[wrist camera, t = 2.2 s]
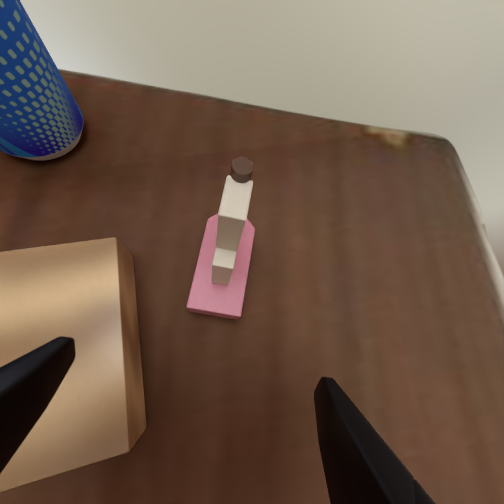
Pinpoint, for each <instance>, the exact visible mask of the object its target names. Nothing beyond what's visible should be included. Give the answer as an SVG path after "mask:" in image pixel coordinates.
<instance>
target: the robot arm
mask: <svg viewBox="0 0 504 504" xmlns="http://www.w3.org/2000/svg"><path fill="white" fill-rule="evenodd" d="M75 356H76V352H75V341H74V339H73V338H72V337H66V336H59V337H57V338H55V339H53V340H51V341H49V342H47V343H45V344H44V345H42V346H40V347H38V348H36V349H34V350H32V351H30V352H28V353H26V354H25V355H23V356H21V357H19V358H17V359H15V360H13V361H11V362H9V363H7V364H5V365H4V366H2V367H0V474H1V472H2V471H3V470H4V468H5V467H6V465H7V464H8V462H9V461H10V460H11V458H12V457H13V455H14V454H15V452H16V451H17V450H18V448H19V447H20V445H21V444H22V443H23V441H24V440H25V438H26V437H27V435H28V434H29V433H30V431H31V430H32V428H33V427H34V426H35V424H36V423H37V421H38V420H39V418H40V417H41V416H42V414H43V413H44V411H45V410H46V408H47V407H48V405H49V403H50V402H51V400H52V398H53V397H54V395H55V393H56V391H57V390H58V388H59V386H60V385H61V383H62V381H63V379H64V378H65V376H66V374H67V372H68V371H69V369H70V367H71V365H72V364H73V362H74V360H75ZM314 401H315V411H316V421H317V432H318V440H319V446H320V452H321V457H322V462H323V467H324V472H325V478H326V483H327V488H328V493H329V498H330V503H331V504H435V503H434V501H433V500H432V499H431V498H430V497H429V495H428V494H427V493H426V492H425V491H424V489H423V488H422V487H421V486H420V484H419V483H418V482H417V481H416V480H414V478H413V476H412V475H411V473H410V472H409V471H408V470H407V469H406V467H405V466H404V465H403V464H402V462H401V461H400V460H399V459H398V458H397V456H396V455H395V454H394V453H393V451H392V450H391V449H390V448H389V446H388V445H387V444H386V443H385V442H384V440H383V439H382V438H381V437H380V435H379V434H378V433H377V432H376V430H375V429H374V428H373V427H372V426H371V424H370V423H369V422H368V421H367V419H366V418H365V417H364V416H363V415H362V413H361V412H360V411H359V410H358V408H357V407H356V406H355V405H354V403H353V402H352V401H351V400H350V399H349V397H348V396H347V395H346V394H345V392H344V391H343V390H342V389H341V387H340V386H339V385H338V384H337V383H336V381H335V380H334V379H333V378H329V377H321V379H320V381H319V383H318V385H317V387H316V389H315V392H314Z"/></svg>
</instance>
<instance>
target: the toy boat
mask: <svg viewBox="0 0 504 504" xmlns="http://www.w3.org/2000/svg"><path fill="white" fill-rule="evenodd" d="M253 169H254V166H253V163H252V162H251V160H249V159H248V158H245V157H238V158H236V159H234V160H233V162H232V166H231V174H230V176H229V175H228V176H227V178H226V182H225V187H224V191H223V195H222V200H221V204H220V208H219V213H218V214H216V215H214V216H213V217H211V218H209V219H208V221H207V225H206V229H205V233H204V237H203V241H202V245H201V249H200V253H199V257H198V261H197V265H196V270H195V274H194V278H193V282H192V286H191V290H190V294H189V298H188V302H187V306H186V307H187V309H188V310H189V312H195V313H201V314H206V315H212V316H218V317H224V318H229V319H235V320H237V319H238V318H240V317H241V312H242V306H243V300H244V294H245V288H246V282H247V276H248V270H249V264H250V258H251V252H252V246H253V239H254V233H255V228H254V227H253V226H252V224H251V223H250V222H249V220H248V219H247V214H248V208H249V203H250V197H251V192H252V186H253V181H251V176H252V173H253Z"/></svg>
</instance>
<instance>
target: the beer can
mask: <svg viewBox="0 0 504 504" xmlns="http://www.w3.org/2000/svg"><path fill="white" fill-rule="evenodd" d="M83 125H84V119H83V115H82V112H81V110H80V108H79V107H78V105H77V103H76V101H75V99H74V98H73V96H72V94H71V92H70V90H69V89H68V87H67V85H66V83H65V81H64V80H63V78H62V76H61V74H60V72H59V71H58V69H57V67H56V65H55V63H54V62H53V60H52V58H51V56H50V54H49V52H48V51H47V49H46V47H45V46H44V44H43V42H42V40H41V38H40V36H39V35H38V33H37V31H36V29H35V27H34V26H33V24H32V22H31V20H30V18H29V17H28V15H27V13H26V11H25V10H24V8H23V6H22V4H21V2H20V0H0V151H2V152H4V153H6V154H9V155H12V156H16V157H22V158H26V159H30V160H50V159H54V158H57V157H60V156H63V155H65V154H66V153H68V152H69V151H71V150H72V149H73V148H74V147H75V146H76V145H77V144H78V142H79V140H80V137H81V132H82V129H83Z"/></svg>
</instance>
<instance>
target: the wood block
mask: <svg viewBox="0 0 504 504" xmlns="http://www.w3.org/2000/svg"><path fill="white" fill-rule="evenodd" d="M59 336H66V337H72V338H73V339H74V341H75V352H76V356H75V360H74V362H73V364H72V365H71V367H70V369H69V371H68V372H67V374H66V376H65V378H64V379H63V381H62V383H61V385H60V386H59V388H58V390H57V391H56V393H55V395H54V397H53V398H52V400H51V402H50V403H49V405H48V407H47V408H46V410H45V411H44V413H43V414H42V416H41V417H40V418H39V420H38V421H37V423H36V424H35V426H34V427H33V428H32V430H31V431H30V433H29V434H28V435H27V437H26V438H25V440H24V441H23V443H22V444H21V445H20V447H19V448H18V450H17V451H16V452H15V454H14V455H13V457H12V458H11V460H10V461H9V462H8V464H7V465H6V467H5V468H4V470H3V471H2V472H1V474H0V492H2V491H5V490H9V489H12V488H15V487H18V486H22V485H25V484H28V483H31V482H34V481H38V480H41V479H44V478H47V477H51V476H54V475H57V474H60V473H63V472H67V471H70V470H73V469H76V468H80V467H83V466H86V465H89V464H92V463H96V462H99V461H102V460H105V459H109V458H112V457H115V456H118V455H121V454H125V453H128V452H129V451H130V450H131V449H132V447H133V446H134V444H135V443H136V442H137V440H138V439H139V437H140V436H141V435H142V433H143V432H144V431H145V429H146V427H147V426H146V413H145V401H144V388H143V376H142V363H141V351H140V338H139V326H138V313H137V301H136V289H135V276H134V264H133V256H132V254H131V253H130V252H129V251H128V250H127V249H126V248H125V247H124V245H123V244H122V243H121V242H120V241H119V240H118V239H117V238H116V237H113V238H105V239H97V240H90V241H82V242H74V243H67V244H59V245H51V246H43V247H36V248H28V249H20V250H13V251H5V252H0V367H2V366H4V365H5V364H7V363H9V362H11V361H13V360H15V359H17V358H19V357H21V356H23V355H25V354H26V353H28V352H30V351H32V350H34V349H36V348H38V347H40V346H42V345H44V344H45V343H47V342H49V341H51V340H53V339H55V338H57V337H59Z"/></svg>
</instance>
